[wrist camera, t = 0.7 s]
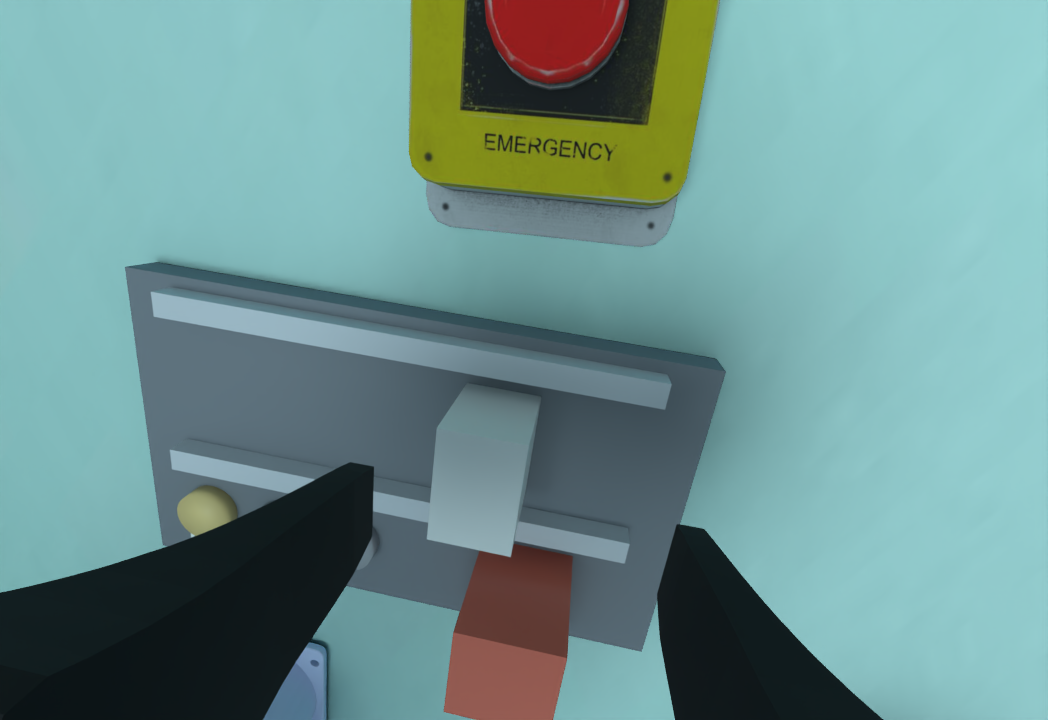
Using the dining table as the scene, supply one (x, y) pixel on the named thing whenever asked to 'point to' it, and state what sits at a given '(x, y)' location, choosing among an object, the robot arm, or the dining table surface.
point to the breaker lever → (482, 468)
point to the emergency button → (557, 113)
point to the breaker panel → (417, 429)
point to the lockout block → (511, 637)
